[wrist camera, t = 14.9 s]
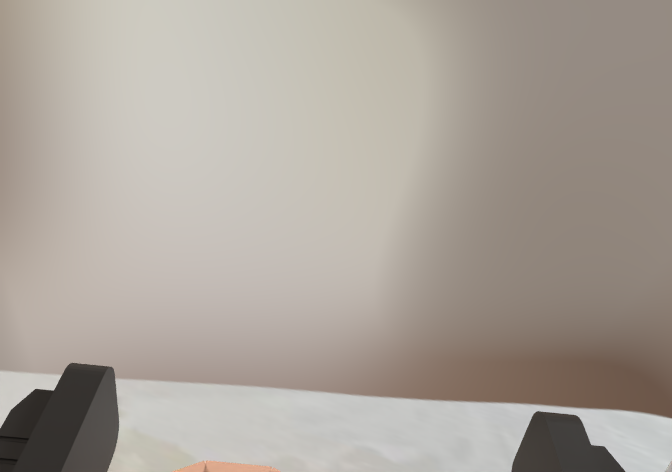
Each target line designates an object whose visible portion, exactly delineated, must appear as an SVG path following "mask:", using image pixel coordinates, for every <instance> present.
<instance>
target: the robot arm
mask: <svg viewBox="0 0 672 472" xmlns="http://www.w3.org/2000/svg"><path fill="white" fill-rule="evenodd" d="M118 431H119V415H118V405H117V394H116V383H115V374H114V369H113V368H112V367H107V366H97V365H87V364H77V363H71V364H69V365H68V366H67V368H66V369H65V371H64V373H63V375H62V376H61V378H60V380H59V382H58V384H57V386H56V388H55V390H54V391H51V390H41V389H35V390H34V391H33V392H31V393H30V394H29V395H28V396H27V397H26V398H24V399H23V400H22V401H21V402H20V403H19V404H17V405H16V406H15V407H14V408H13V409H12V410H11V411H10V413H9V415H8V416H7V418H6V420H5V421H4V423H3V425H2V427H1V428H0V472H107V471H108V468H109V465H110V463H111V460H112V457H113V454H114V451H115V447H116V443H117V438H118ZM512 472H625V471H624V469H623V468H622V467H621V466H620V465H619V463H618V462H617V461H616V460H615V459H614V458H613V456H612V455H611V454H610V453H609V452H608V450H607V449H606V448H605V447H603V446H593V445H591V444H590V441H589V439H588V436H587V433H586V431H585V428H584V426H583V423H582V421H581V420H580V418H579V417H578V416H576V415H569V414H559V413H549V412H539V411H538V412H536V413H534V415H533V416H532V419H531V421H530V423H529V426H528V428H527V430H526V433H525V435H524V437H523V440H522V442H521V445H520V447H519V449H518V452H517V454H516V456H515V459H514V462H513V465H512ZM665 472H672V461H671V463H670V464H669V466H668V467H667V469H666V471H665Z"/></svg>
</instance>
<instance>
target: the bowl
mask: <svg viewBox="0 0 672 472" xmlns="http://www.w3.org/2000/svg"><path fill="white" fill-rule="evenodd" d="M173 472H280V471H279V470H277V469H275V468H273V469H272V467H268V466H258V465H247V464H237V463H226V462H216V461H206V463H205V462H204V461H202V462H199V463H196V464H193V465H190V466H187V467H184V468H181V469H179V470H176V471H173Z"/></svg>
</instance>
